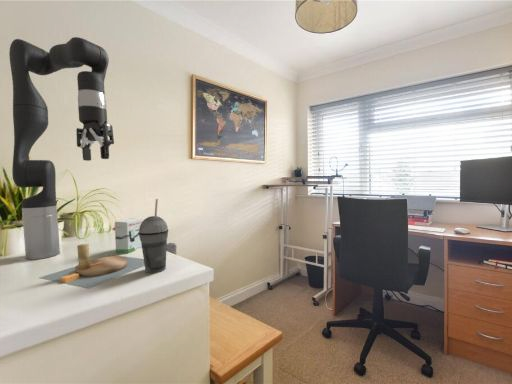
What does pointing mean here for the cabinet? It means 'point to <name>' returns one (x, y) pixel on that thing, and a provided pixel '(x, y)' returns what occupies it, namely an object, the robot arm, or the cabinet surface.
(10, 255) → the cabinet surface
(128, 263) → the board
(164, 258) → the beverage cup
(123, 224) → the ink box
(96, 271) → the dial
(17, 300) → the cabinet surface
